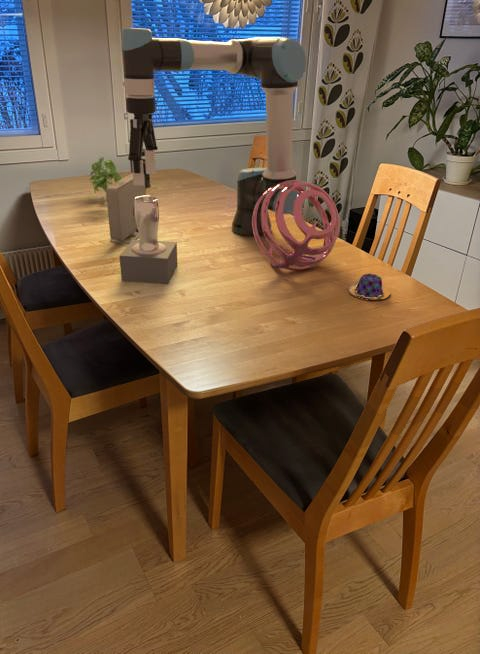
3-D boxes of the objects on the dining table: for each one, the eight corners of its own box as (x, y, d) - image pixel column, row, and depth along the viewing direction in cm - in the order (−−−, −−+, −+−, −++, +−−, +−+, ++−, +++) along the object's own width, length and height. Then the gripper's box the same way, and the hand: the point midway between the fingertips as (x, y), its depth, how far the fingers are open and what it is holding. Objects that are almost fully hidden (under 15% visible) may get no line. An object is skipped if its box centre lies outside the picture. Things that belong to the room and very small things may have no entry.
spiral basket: (235, 191, 170) (276, 156, 146) (307, 206, 182) (356, 176, 158) (235, 274, 166) (277, 252, 142) (308, 283, 178) (358, 264, 154)
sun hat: (360, 304, 144) (363, 287, 141) (341, 287, 154) (343, 270, 151) (397, 300, 147) (401, 283, 144) (376, 283, 157) (379, 267, 154)
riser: (177, 266, 163) (176, 240, 159) (168, 284, 151) (167, 257, 147) (134, 263, 164) (132, 238, 160) (121, 281, 152) (119, 254, 148)
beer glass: (162, 244, 156) (159, 195, 148) (159, 253, 150) (156, 202, 142) (139, 244, 156) (135, 195, 148) (135, 252, 149) (131, 201, 142)
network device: (127, 247, 177) (122, 189, 167) (103, 245, 178) (97, 187, 168) (153, 225, 199) (150, 172, 189) (131, 223, 200) (127, 171, 190)
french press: (127, 184, 253) (123, 135, 242) (145, 182, 258) (142, 134, 246) (137, 189, 245) (134, 139, 233) (155, 187, 249) (153, 137, 238)
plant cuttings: (120, 207, 242) (77, 180, 231) (140, 177, 239) (98, 147, 227) (129, 230, 213) (81, 200, 202) (152, 196, 210) (104, 164, 198)
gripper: (138, 92, 145) (143, 168, 155) (111, 100, 123) (119, 189, 133) (164, 93, 144) (167, 170, 154) (142, 101, 122) (147, 190, 133)
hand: (145, 179), depth 144 cm, fingers open, 13 cm apart
